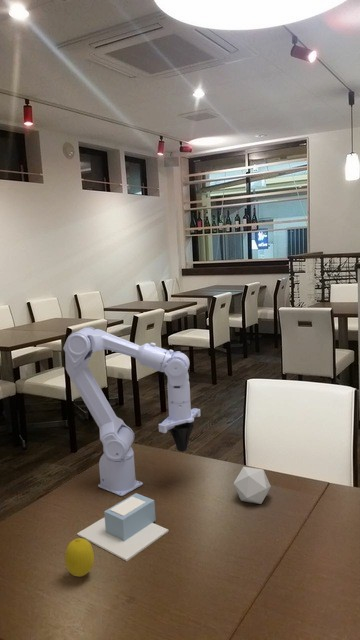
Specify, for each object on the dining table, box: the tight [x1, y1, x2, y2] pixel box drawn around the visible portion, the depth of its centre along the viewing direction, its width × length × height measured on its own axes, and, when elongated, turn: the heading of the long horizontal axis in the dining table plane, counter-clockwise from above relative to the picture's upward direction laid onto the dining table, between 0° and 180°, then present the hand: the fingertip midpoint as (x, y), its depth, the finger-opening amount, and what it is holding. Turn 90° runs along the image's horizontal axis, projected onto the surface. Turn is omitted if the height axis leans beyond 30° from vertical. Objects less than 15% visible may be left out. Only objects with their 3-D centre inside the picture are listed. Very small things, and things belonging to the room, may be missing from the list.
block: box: [103, 493, 157, 541], centre depth 112 cm, size 6×5×10 cm
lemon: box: [64, 537, 95, 578], centre depth 96 cm, size 6×6×8 cm
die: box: [233, 466, 272, 505], centre depth 121 cm, size 8×9×10 cm
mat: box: [76, 516, 170, 562], centre depth 110 cm, size 16×13×1 cm
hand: (181, 450), depth 128 cm, fingers closed
